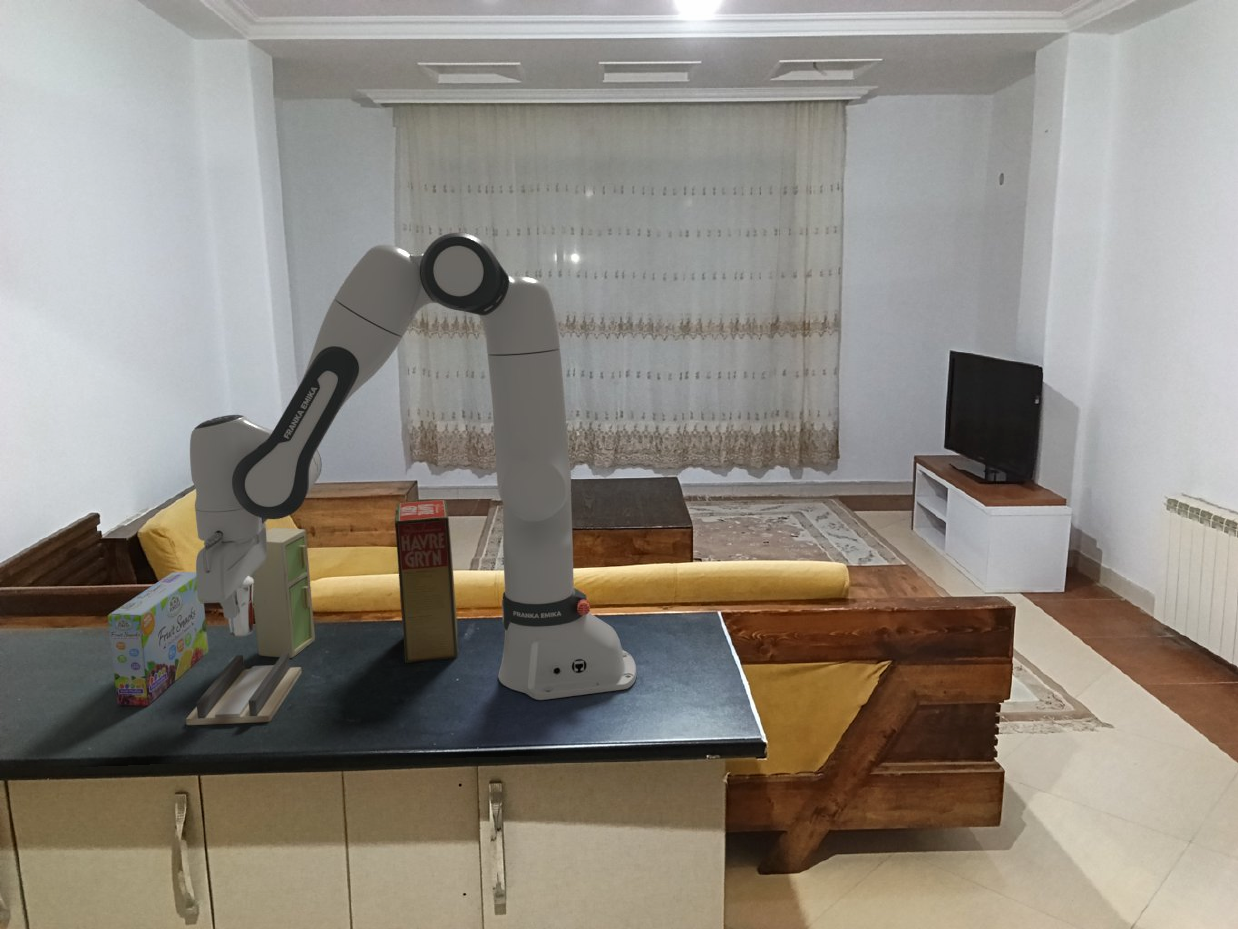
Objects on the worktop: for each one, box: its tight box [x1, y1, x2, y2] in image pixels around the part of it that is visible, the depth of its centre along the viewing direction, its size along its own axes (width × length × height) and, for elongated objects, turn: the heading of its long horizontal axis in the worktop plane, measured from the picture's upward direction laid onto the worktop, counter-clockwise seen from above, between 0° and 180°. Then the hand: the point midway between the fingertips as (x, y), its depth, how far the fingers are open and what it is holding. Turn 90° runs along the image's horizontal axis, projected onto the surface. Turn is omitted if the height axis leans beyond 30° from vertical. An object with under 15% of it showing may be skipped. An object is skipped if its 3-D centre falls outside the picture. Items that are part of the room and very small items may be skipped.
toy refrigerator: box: [252, 527, 316, 659], centre depth 160 cm, size 8×7×21 cm
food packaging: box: [394, 499, 459, 663], centre depth 160 cm, size 13×9×25 cm
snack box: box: [107, 571, 209, 707], centre depth 150 cm, size 21×6×15 cm, turn 0°
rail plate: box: [185, 653, 302, 726], centre depth 143 cm, size 12×17×4 cm
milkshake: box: [227, 576, 254, 638], centre depth 141 cm, size 4×5×10 cm
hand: (238, 610), depth 141 cm, fingers closed on milkshake, 4 cm apart
